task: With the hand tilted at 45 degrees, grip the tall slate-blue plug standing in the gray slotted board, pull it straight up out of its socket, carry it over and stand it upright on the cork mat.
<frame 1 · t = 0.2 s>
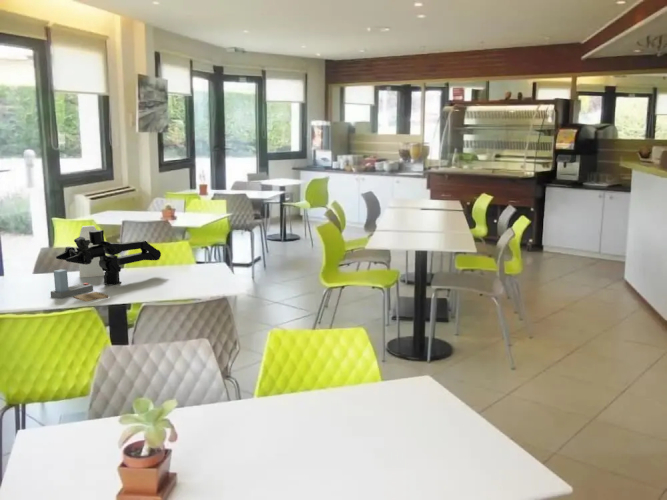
hand: (61, 258, 297), 17 cm above the table, tool horizontal, fingers open, 9 cm apart
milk: (92, 274, 340), on the table
plug: (62, 295, 294), resting on gray slotted board
cork mat: (91, 298, 292), on the table
gray slotted board: (72, 294, 298), on the table
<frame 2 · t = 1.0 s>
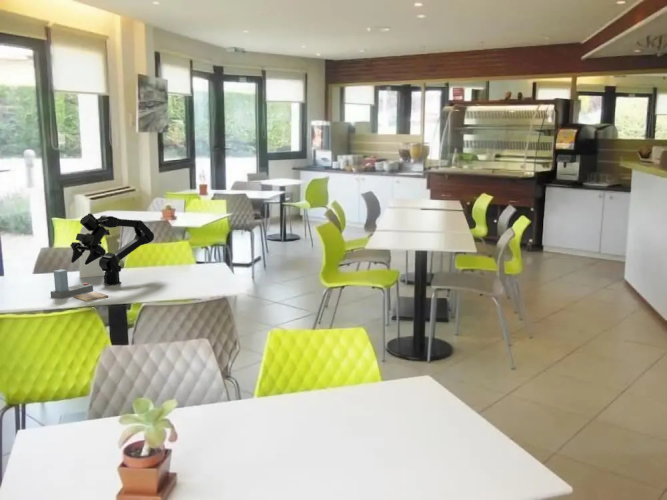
hand: (78, 263, 301), 14 cm above the table, tool tilted 45°, fingers open, 9 cm apart
nothing on the table moved.
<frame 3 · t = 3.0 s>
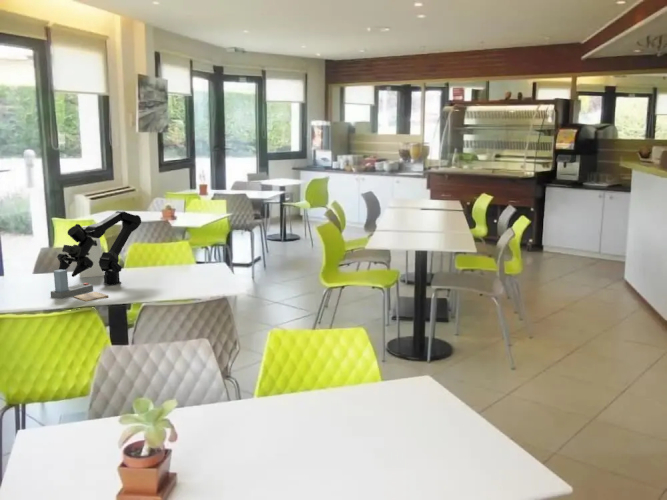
hand: (65, 275, 294), 10 cm above the table, tool tilted 45°, fingers open, 9 cm apart
nothing on the table moved.
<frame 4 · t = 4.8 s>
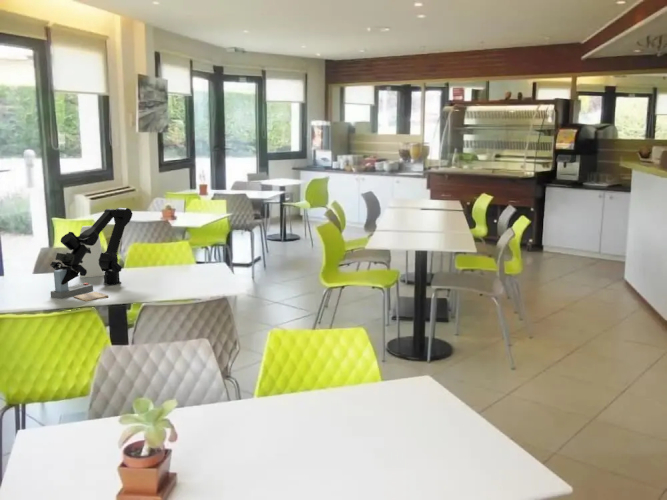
hand: (58, 283, 291), 7 cm above the table, tool tilted 45°, fingers closed on plug, 4 cm apart
plug: (62, 295, 294), resting on gray slotted board, touching gripper
everything else where it was.
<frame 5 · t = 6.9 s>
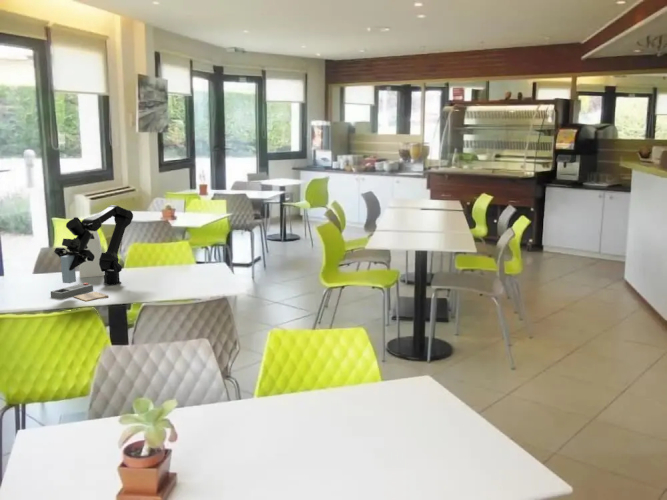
hand: (66, 269, 289), 13 cm above the table, tool tilted 45°, fingers closed on plug, 4 cm apart
plug: (69, 282, 291), point 7 cm above the table, touching gripper
everything else where it was.
when the fingers open (9 cm above the table, at t = 9.0 s): plug drops 1 cm, resting on cork mat.
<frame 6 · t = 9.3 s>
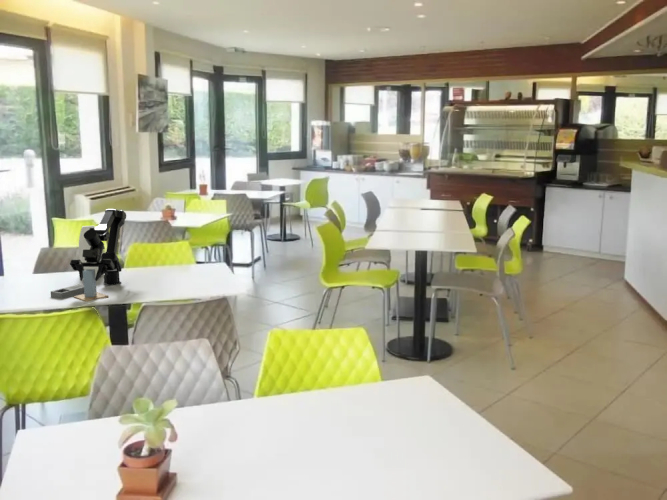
hand: (88, 280, 289), 9 cm above the table, tool tilted 45°, fingers open, 7 cm apart
plug: (90, 295, 292), point 1 cm above the table, touching cork mat
everything else where it was.
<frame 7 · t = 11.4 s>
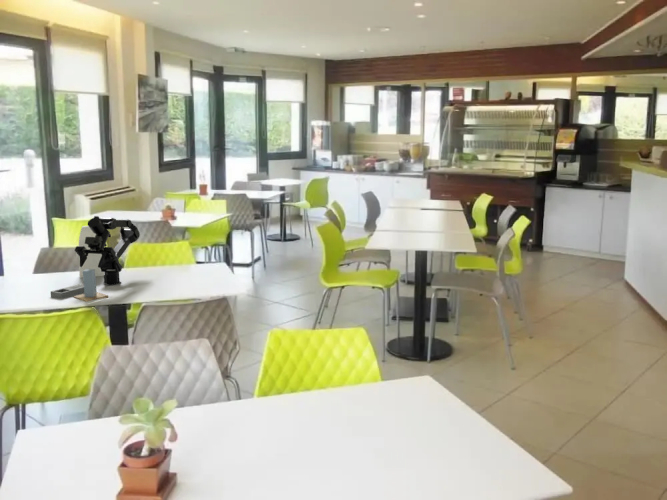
hand: (89, 266, 298), 13 cm above the table, tool tilted 45°, fingers open, 9 cm apart
nothing on the table moved.
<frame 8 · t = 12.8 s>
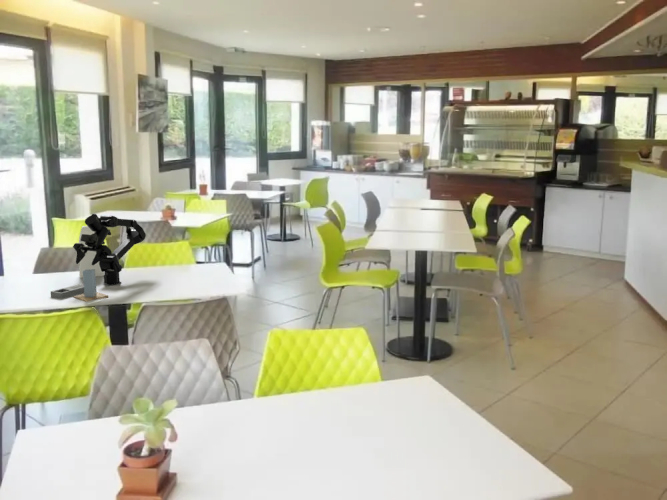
hand: (84, 264, 300), 14 cm above the table, tool tilted 45°, fingers open, 9 cm apart
nothing on the table moved.
at the end: plug inside the target area on the cork mat (0.0 cm from its centre), point 1.0 cm above the cork mat's base; plug tilted 0°; the gripper is holding nothing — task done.
